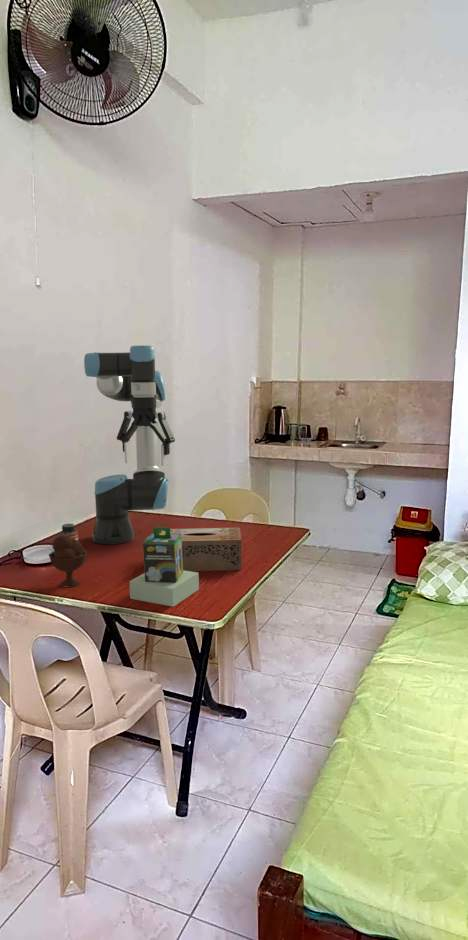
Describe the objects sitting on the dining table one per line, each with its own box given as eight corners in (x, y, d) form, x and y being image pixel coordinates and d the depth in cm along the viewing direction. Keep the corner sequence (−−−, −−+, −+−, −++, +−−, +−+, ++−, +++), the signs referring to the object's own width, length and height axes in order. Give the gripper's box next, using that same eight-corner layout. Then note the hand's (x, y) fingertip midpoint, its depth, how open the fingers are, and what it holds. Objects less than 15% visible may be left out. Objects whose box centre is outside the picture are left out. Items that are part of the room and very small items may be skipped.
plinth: (130, 598, 175) (129, 581, 175) (157, 582, 188) (157, 566, 187) (173, 606, 169) (172, 588, 168) (198, 589, 182) (198, 572, 181)
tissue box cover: (239, 556, 212) (239, 527, 210) (241, 570, 198) (241, 539, 196) (163, 558, 212) (162, 529, 210) (159, 572, 197) (158, 541, 196)
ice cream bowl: (69, 593, 180) (66, 542, 177) (42, 586, 186) (39, 537, 183) (96, 582, 189) (93, 533, 186) (69, 575, 195) (67, 528, 192)
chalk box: (183, 572, 182) (182, 522, 179) (176, 583, 173) (175, 530, 170) (152, 571, 183) (150, 521, 180) (143, 582, 174) (141, 530, 171)
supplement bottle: (57, 557, 212) (55, 525, 210) (73, 553, 216) (71, 521, 214) (66, 561, 208) (64, 528, 206) (82, 557, 212) (80, 524, 210)
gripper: (103, 396, 198) (106, 463, 202) (171, 397, 187) (173, 468, 191) (118, 394, 205) (121, 459, 208) (184, 396, 194) (186, 464, 197)
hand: (146, 463), depth 200 cm, fingers open, 13 cm apart
